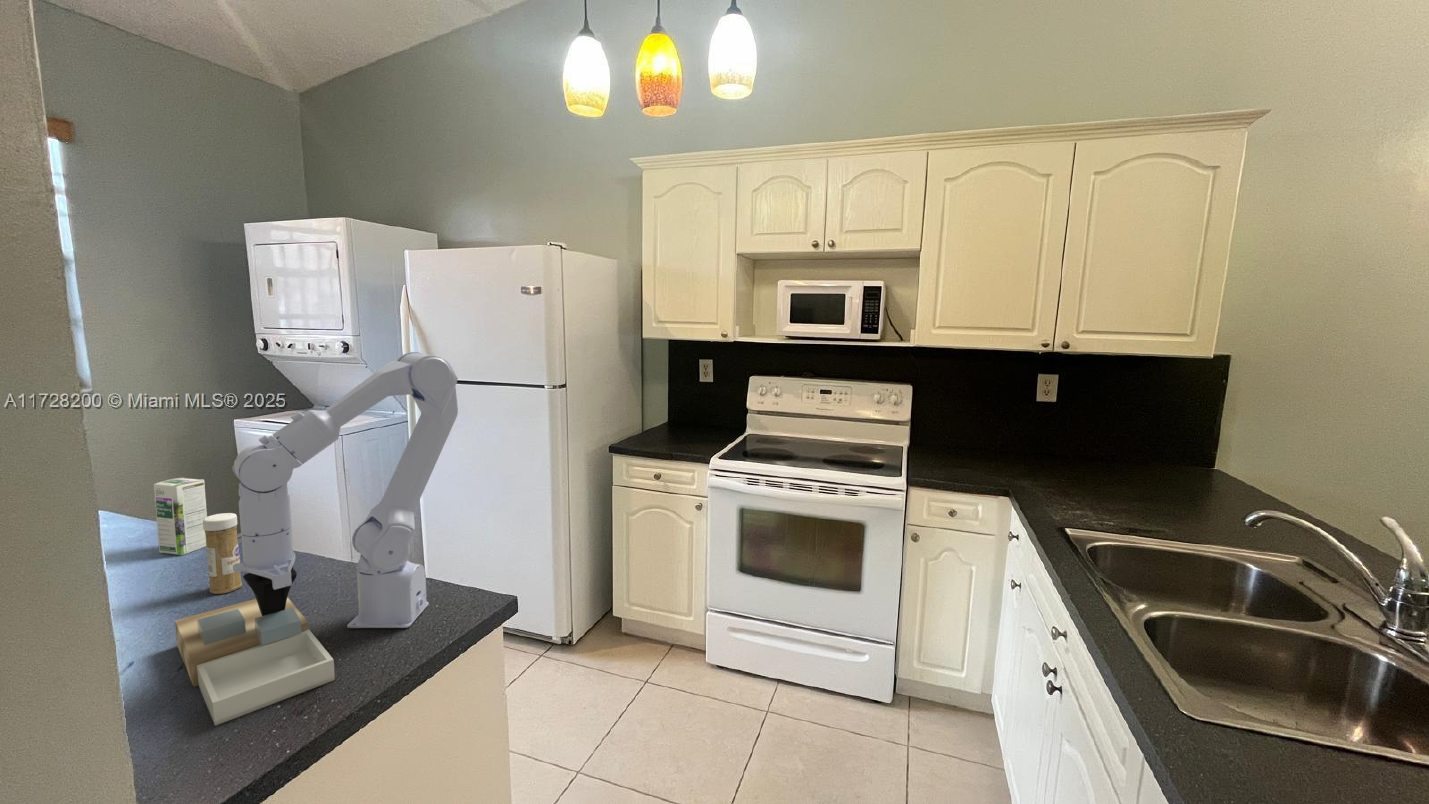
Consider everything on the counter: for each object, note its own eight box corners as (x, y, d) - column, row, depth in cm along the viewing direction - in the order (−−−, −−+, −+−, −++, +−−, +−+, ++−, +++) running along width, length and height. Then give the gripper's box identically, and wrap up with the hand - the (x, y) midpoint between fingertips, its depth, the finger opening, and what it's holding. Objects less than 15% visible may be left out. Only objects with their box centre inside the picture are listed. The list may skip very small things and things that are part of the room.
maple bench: (177, 646, 85) (174, 620, 85) (284, 614, 95) (282, 591, 95) (193, 687, 76) (190, 658, 76) (310, 647, 86) (308, 622, 86)
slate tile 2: (255, 631, 83) (254, 618, 82) (293, 620, 86) (292, 607, 85) (261, 645, 80) (261, 632, 79) (301, 633, 83) (300, 620, 82)
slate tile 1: (198, 633, 82) (197, 619, 81) (239, 621, 85) (237, 608, 85) (204, 645, 79) (202, 631, 79) (246, 632, 82) (244, 619, 82)
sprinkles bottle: (240, 591, 103) (234, 518, 101) (207, 597, 100) (200, 522, 98) (244, 581, 106) (238, 510, 104) (211, 586, 104) (204, 514, 102)
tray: (198, 686, 76) (196, 665, 76) (310, 648, 86) (309, 629, 85) (214, 726, 69) (212, 703, 69) (334, 680, 79) (333, 659, 78)
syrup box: (157, 553, 117) (150, 483, 115) (188, 542, 123) (182, 476, 121) (181, 556, 116) (174, 485, 114) (211, 545, 122) (205, 478, 120)
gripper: (220, 523, 85) (228, 611, 86) (242, 551, 75) (250, 649, 77) (279, 512, 90) (285, 595, 92) (306, 537, 80) (312, 629, 82)
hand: (273, 618), depth 85 cm, fingers closed
